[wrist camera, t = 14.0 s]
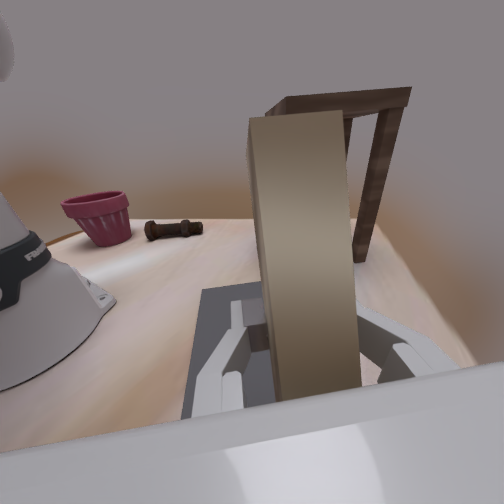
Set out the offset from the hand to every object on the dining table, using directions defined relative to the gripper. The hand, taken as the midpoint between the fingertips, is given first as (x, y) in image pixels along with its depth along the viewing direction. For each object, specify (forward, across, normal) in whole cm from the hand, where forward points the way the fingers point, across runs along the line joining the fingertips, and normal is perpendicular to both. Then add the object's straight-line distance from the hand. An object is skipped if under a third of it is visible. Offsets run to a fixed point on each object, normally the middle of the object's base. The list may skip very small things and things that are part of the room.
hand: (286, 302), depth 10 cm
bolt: (+46, +20, +15) cm, 52 cm away
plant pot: (+49, +38, +14) cm, 64 cm away
